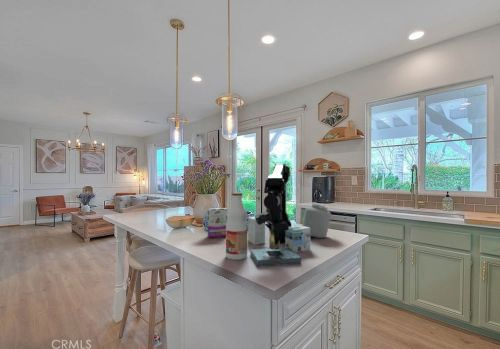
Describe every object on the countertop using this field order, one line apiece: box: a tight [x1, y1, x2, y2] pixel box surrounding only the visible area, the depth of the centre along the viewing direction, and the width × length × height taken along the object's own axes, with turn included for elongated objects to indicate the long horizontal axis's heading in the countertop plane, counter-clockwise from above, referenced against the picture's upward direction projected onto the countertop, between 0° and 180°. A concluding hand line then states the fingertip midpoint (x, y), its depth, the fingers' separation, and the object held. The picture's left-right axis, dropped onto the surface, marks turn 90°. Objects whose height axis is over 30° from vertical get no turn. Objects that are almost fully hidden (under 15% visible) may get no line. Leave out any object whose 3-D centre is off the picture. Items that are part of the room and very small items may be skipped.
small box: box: [247, 216, 266, 245], centre depth 127 cm, size 8×6×13 cm
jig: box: [250, 246, 302, 268], centre depth 101 cm, size 18×14×2 cm
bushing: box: [268, 230, 281, 250], centre depth 101 cm, size 4×4×7 cm
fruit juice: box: [225, 191, 248, 261], centre depth 104 cm, size 9×9×28 cm
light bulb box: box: [284, 224, 311, 253], centre depth 115 cm, size 11×7×11 cm, turn 117°
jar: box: [301, 194, 332, 239], centre depth 139 cm, size 19×15×25 cm
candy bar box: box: [207, 207, 228, 239], centre depth 138 cm, size 11×5×16 cm, turn 104°
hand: (274, 242), depth 101 cm, fingers closed on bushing, 4 cm apart
